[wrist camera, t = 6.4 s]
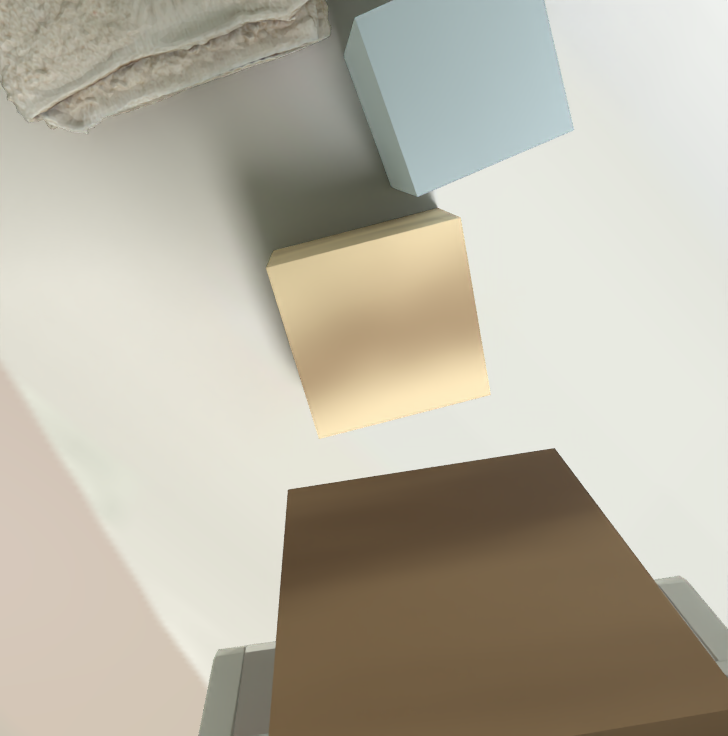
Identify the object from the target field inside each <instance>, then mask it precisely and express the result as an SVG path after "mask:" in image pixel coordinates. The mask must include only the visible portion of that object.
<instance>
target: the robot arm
mask: <svg viewBox="0 0 728 736" xmlns="http://www.w3.org/2000/svg"><path fill="white" fill-rule="evenodd" d="M654 581H655V582H656V584H657V585H658V586H659V588H660V589H661V590H662V592H663V593H664V594H665V596H666V597H667V598H668V600H669V601H670V602H671V603H672V605H673V606H674V607H675V609H676V610H677V611H678V613H679V614H680V615H681V617H682V618H683V619H684V621H685V622H686V623H687V625H688V626H689V627H690V629H691V630H692V631H693V633H694V634H695V635H696V637H697V638H698V639H699V641H700V642H701V643H702V645H703V646H704V647H705V649H706V650H707V651H708V653H709V654H710V655H711V657H712V658H713V659H714V661H715V662H716V663H717V665H718V666H719V667H720V669H721V670H722V671H723V673H724V674H725V675H726V677H727V678H728V629H727V627H726V626H725V625H724V624H723V623H722V621H721V620H720V619H719V618H718V617H717V615H716V614H715V613H714V612H713V611H712V610H711V608H710V607H709V606H708V605H707V604H706V602H705V601H704V600H703V599H702V598H701V596H700V595H699V594H698V593H697V592H696V591H695V589H694V588H693V587H692V586H691V585H690V583H689V582H688V581H687V580H686V579H684V578H683V577H681V576H675V577H669V578H662V579H656V580H654ZM275 648H276V641H275V642H267V643H260V644H252V645H247V646H240V647H233V648H226V649H219V650H218V651H217V653H216V655H215V657H214V660H213V665H212V670H211V675H210V680H209V685H208V690H207V695H206V701H205V705H204V710H203V715H202V721H201V725H200V730H199V735H198V736H269V723H270V711H271V698H272V685H273V673H274V660H275Z"/></svg>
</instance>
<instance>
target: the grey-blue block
mask: <svg viewBox="0 0 728 736" xmlns="http://www.w3.org/2000/svg"><path fill="white" fill-rule="evenodd" d="M344 59H345V61H346V64H347V67H348V70H349V72H350V75H351V78H352V81H353V83H354V86H355V89H356V91H357V94H358V97H359V100H360V102H361V105H362V108H363V111H364V113H365V116H366V119H367V122H368V124H369V127H370V130H371V133H372V135H373V138H374V141H375V144H376V146H377V149H378V152H379V154H380V157H381V160H382V163H383V165H384V168H385V171H386V174H387V176H388V179H389V182H390V185H391V187H392V188H395V189H398V190H400V191H403V192H406V193H408V194H411V195H414V196H416V197H419V196H421V195H423V194H426V193H428V192H430V191H433V190H435V189H437V188H440V187H442V186H444V185H447V184H449V183H451V182H454V181H456V180H458V179H461V178H463V177H465V176H468V175H470V174H472V173H475V172H477V171H479V170H482V169H484V168H487V167H489V166H491V165H494V164H496V163H498V162H501V161H503V160H505V159H508V158H510V157H512V156H515V155H517V154H519V153H522V152H524V151H526V150H529V149H531V148H533V147H536V146H538V145H540V144H543V143H545V142H547V141H550V140H552V139H554V138H557V137H559V136H561V135H564V134H566V133H568V132H571V131H573V130H574V127H573V123H572V119H571V114H570V110H569V106H568V101H567V97H566V93H565V88H564V84H563V80H562V76H561V71H560V67H559V63H558V58H557V54H556V50H555V45H554V41H553V37H552V32H551V28H550V24H549V20H548V15H547V11H546V7H545V2H544V0H392V1H390V2H388V3H386V4H383V5H381V6H379V7H377V8H375V9H372V10H370V11H368V12H366V13H363V14H361V15H359V16H357V17H355V19H354V22H353V25H352V29H351V32H350V35H349V39H348V42H347V46H346V49H345V52H344Z"/></svg>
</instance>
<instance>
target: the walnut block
mask: <svg viewBox="0 0 728 736" xmlns="http://www.w3.org/2000/svg"><path fill="white" fill-rule="evenodd" d="M269 736H728V678H727V677H726V675H725V674H724V673H723V671H722V670H721V669H720V667H719V666H718V665H717V663H716V662H715V661H714V659H713V658H712V657H711V655H710V654H709V653H708V651H707V650H706V649H705V647H704V646H703V645H702V643H701V642H700V641H699V639H698V638H697V637H696V635H695V634H694V633H693V631H692V630H691V629H690V627H689V626H688V625H687V623H686V622H685V621H684V619H683V618H682V617H681V615H680V614H679V613H678V611H677V610H676V609H675V607H674V606H673V605H672V603H671V602H670V601H669V600H668V598H667V597H666V596H665V594H664V593H663V592H662V590H661V589H660V588H659V586H658V585H657V584H656V582H655V581H654V580H653V578H652V577H651V576H650V574H649V573H648V572H647V570H646V569H645V568H644V566H643V565H642V564H641V562H640V561H639V560H638V558H637V557H636V556H635V554H634V553H633V552H632V550H631V549H630V548H629V546H628V545H627V544H626V542H625V541H624V540H623V538H622V537H621V536H620V534H619V533H618V532H617V530H616V529H615V528H614V526H613V525H612V524H611V523H610V521H609V520H608V519H607V517H606V516H605V515H604V513H603V512H602V511H601V509H600V508H599V507H598V505H597V504H596V503H595V501H594V500H593V499H592V497H591V496H590V495H589V493H588V492H587V491H586V489H585V488H584V487H583V485H582V484H581V483H580V481H579V480H578V479H577V477H576V476H575V475H574V473H573V472H572V471H571V469H570V468H569V467H568V465H567V464H566V463H565V461H564V460H563V459H562V457H561V456H560V455H559V453H558V452H557V451H556V449H555V448H553V449H547V450H540V451H534V452H527V453H521V454H515V455H508V456H502V457H495V458H489V459H482V460H476V461H469V462H463V463H457V464H450V465H444V466H437V467H431V468H424V469H418V470H412V471H405V472H399V473H392V474H386V475H379V476H373V477H367V478H360V479H354V480H347V481H341V482H334V483H328V484H321V485H315V486H309V487H302V488H296V489H289V490H288V496H287V509H286V521H285V534H284V547H283V559H282V572H281V584H280V597H279V610H278V622H277V635H276V648H275V660H274V673H273V685H272V698H271V711H270V723H269Z"/></svg>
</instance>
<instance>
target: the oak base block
mask: <svg viewBox="0 0 728 736" xmlns="http://www.w3.org/2000/svg"><path fill="white" fill-rule="evenodd" d="M266 270H267V273H268V276H269V279H270V283H271V286H272V289H273V292H274V295H275V299H276V302H277V305H278V308H279V311H280V315H281V318H282V321H283V324H284V328H285V331H286V334H287V337H288V340H289V344H290V347H291V350H292V353H293V356H294V360H295V363H296V366H297V369H298V373H299V376H300V379H301V382H302V385H303V389H304V392H305V395H306V398H307V401H308V405H309V408H310V411H311V414H312V417H313V421H314V424H315V427H316V430H317V434H318V437H319V439H321V438H325V437H328V436H332V435H336V434H340V433H344V432H348V431H352V430H356V429H360V428H363V427H367V426H371V425H375V424H379V423H383V422H387V421H391V420H395V419H398V418H402V417H406V416H410V415H414V414H418V413H422V412H426V411H430V410H433V409H437V408H441V407H445V406H449V405H453V404H457V403H461V402H465V401H468V400H472V399H476V398H480V397H484V396H488V395H491V394H490V388H489V382H488V376H487V370H486V364H485V359H484V353H483V347H482V341H481V335H480V329H479V323H478V317H477V311H476V306H475V300H474V294H473V288H472V282H471V276H470V270H469V264H468V258H467V252H466V247H465V241H464V235H463V229H462V223H461V217H458V216H456V215H453V214H451V213H449V212H446V211H444V210H441V209H439V208H436V209H432V210H428V211H424V212H420V213H416V214H413V215H409V216H405V217H401V218H397V219H393V220H390V221H386V222H382V223H378V224H374V225H370V226H366V227H363V228H359V229H355V230H351V231H347V232H343V233H340V234H336V235H332V236H328V237H324V238H320V239H317V240H313V241H309V242H305V243H301V244H297V245H293V246H290V247H286V248H282V249H278V250H274V251H273V253H272V255H271V257H270V260H269V262H268V264H267V267H266Z"/></svg>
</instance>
